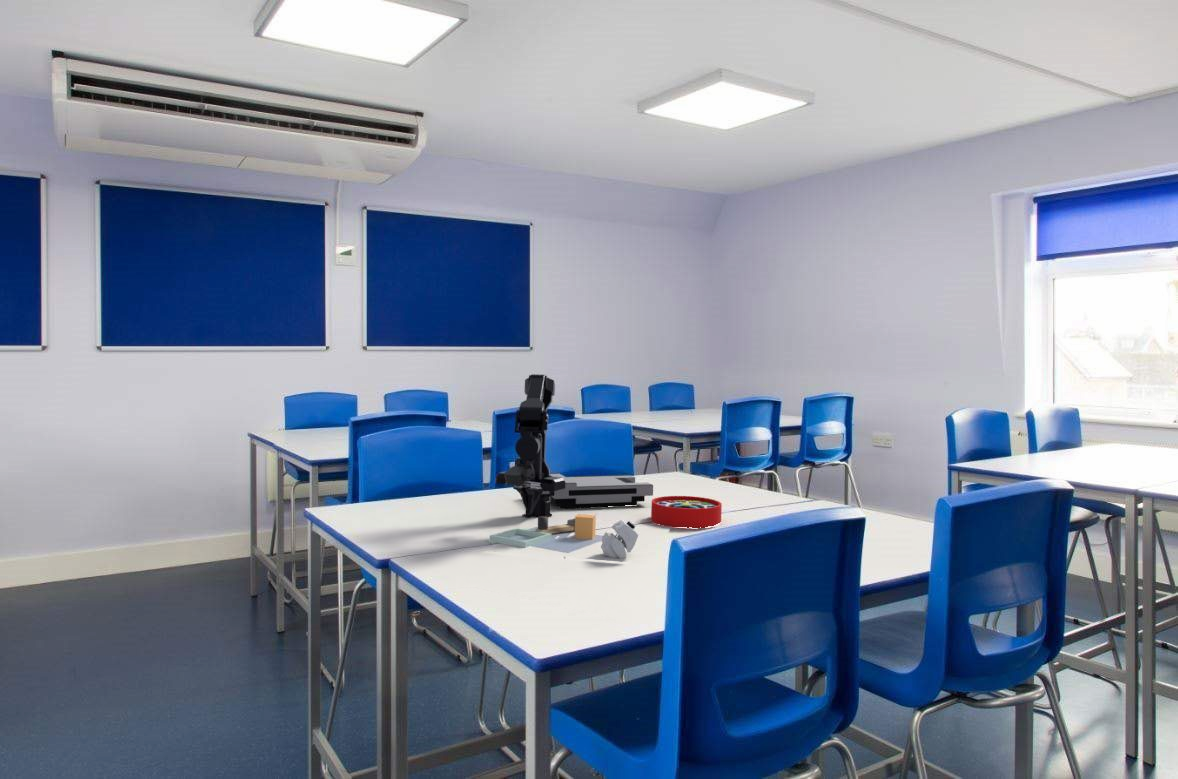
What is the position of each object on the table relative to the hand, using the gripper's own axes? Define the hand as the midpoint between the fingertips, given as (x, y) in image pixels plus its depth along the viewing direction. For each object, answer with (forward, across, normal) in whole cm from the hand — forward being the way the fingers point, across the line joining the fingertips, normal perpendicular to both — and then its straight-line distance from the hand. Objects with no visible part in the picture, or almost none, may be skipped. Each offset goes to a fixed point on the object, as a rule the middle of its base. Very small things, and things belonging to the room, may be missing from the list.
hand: (529, 513), depth 209 cm
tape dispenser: (+6, +30, -6) cm, 31 cm away
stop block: (+5, +14, +4) cm, 16 cm away
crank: (+4, +7, +6) cm, 10 cm away
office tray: (+6, -11, +50) cm, 52 cm away
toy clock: (+6, +26, +41) cm, 49 cm away
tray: (+6, +3, -8) cm, 10 cm away
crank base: (+5, +9, -1) cm, 10 cm away
